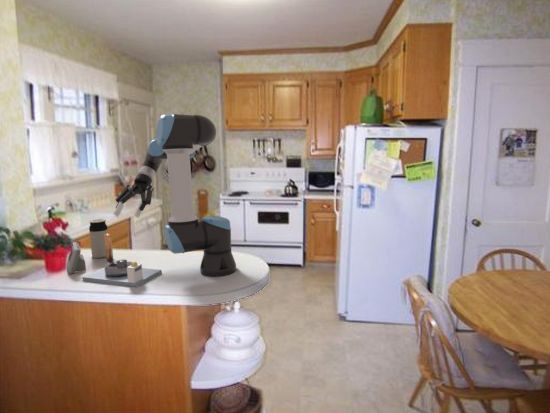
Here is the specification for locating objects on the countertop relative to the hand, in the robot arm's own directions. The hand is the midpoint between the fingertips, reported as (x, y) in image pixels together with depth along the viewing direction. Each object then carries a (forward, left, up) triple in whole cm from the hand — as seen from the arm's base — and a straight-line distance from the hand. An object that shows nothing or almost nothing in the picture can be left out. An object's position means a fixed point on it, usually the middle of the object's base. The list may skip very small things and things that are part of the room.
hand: (125, 215), depth 171 cm
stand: (-10, +17, -22) cm, 30 cm away
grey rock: (+18, +14, -22) cm, 32 cm away
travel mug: (+21, -5, -22) cm, 31 cm away
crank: (-6, +15, -20) cm, 26 cm away
